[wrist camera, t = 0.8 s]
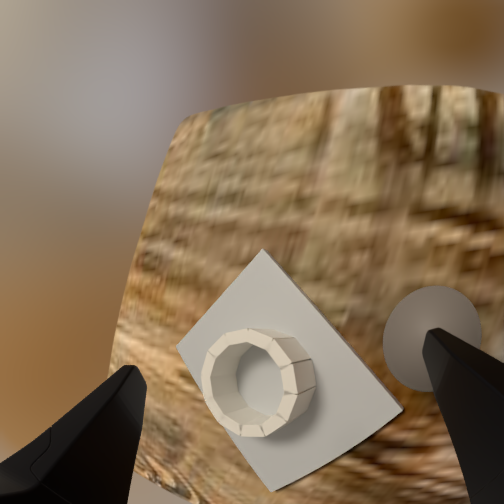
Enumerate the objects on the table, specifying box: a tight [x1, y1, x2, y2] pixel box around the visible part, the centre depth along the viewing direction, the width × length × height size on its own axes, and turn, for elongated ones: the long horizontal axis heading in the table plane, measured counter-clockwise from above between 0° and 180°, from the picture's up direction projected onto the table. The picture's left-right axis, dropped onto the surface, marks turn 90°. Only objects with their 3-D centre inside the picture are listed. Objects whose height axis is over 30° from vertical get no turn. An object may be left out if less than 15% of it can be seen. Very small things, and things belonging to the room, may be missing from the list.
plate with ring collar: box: [176, 249, 404, 492], centre depth 22 cm, size 18×14×4 cm
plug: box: [383, 286, 481, 392], centre depth 14 cm, size 4×4×10 cm
